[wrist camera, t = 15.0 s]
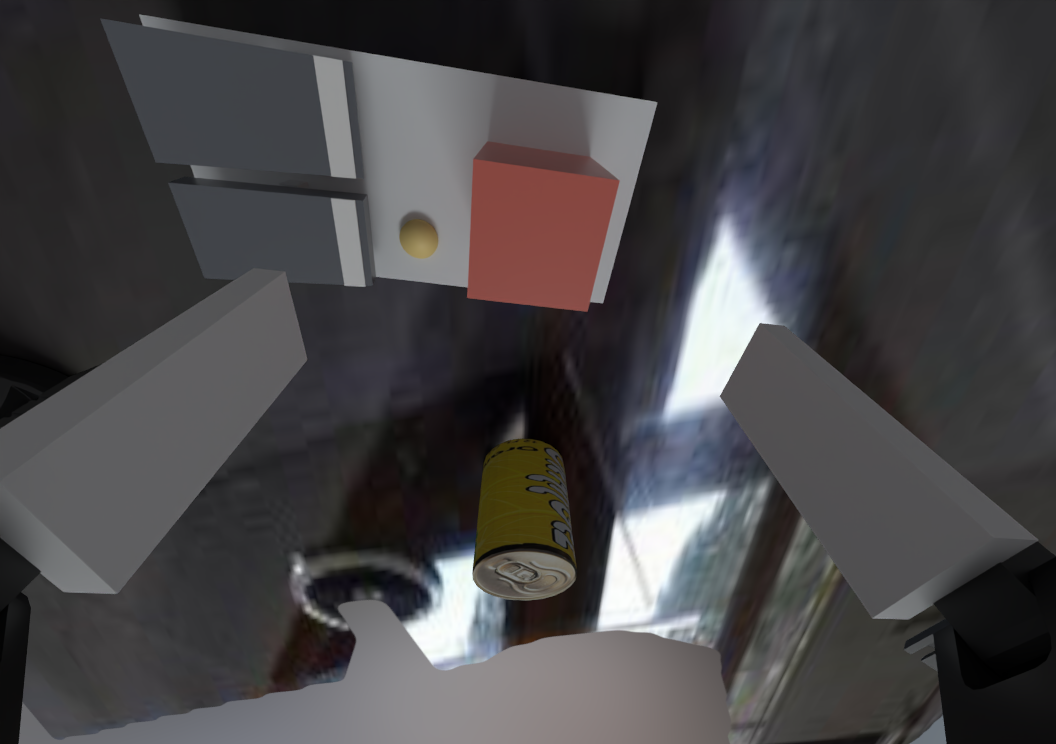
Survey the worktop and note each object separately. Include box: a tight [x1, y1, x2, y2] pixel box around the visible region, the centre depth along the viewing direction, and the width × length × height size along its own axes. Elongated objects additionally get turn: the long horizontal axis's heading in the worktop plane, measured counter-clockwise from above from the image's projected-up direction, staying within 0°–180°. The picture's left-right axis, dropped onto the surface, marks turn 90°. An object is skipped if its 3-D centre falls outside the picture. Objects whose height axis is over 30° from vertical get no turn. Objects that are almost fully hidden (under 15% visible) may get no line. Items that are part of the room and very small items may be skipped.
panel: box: [139, 15, 657, 303], centre depth 22 cm, size 26×12×8 cm, turn 82°
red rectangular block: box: [467, 141, 620, 312], centre depth 20 cm, size 6×6×8 cm
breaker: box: [101, 19, 364, 179], centre depth 18 cm, size 9×5×2 cm, turn 82°
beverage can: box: [473, 439, 577, 600], centre depth 37 cm, size 9×9×12 cm
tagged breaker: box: [169, 177, 376, 287], centre depth 22 cm, size 9×5×2 cm, turn 82°
